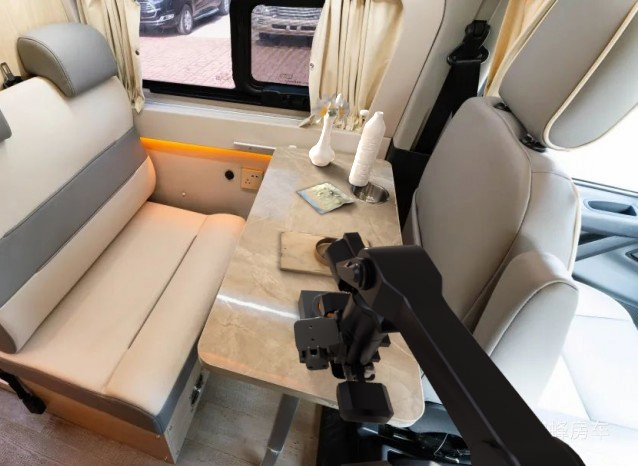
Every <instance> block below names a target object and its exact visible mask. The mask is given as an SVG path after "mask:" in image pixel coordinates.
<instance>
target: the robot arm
mask: <svg viewBox="0 0 638 466" xmlns="http://www.w3.org/2000/svg"><path fill="white" fill-rule="evenodd" d="M342 237H343V238H341V239H339V240H336V241H335V242H333V243H332V244H331V245H330V246H329V247H328V248H326V249H325V253H324V256H325V259H326V261H327V263H328V266H329V268H330V270H331V273H332V275H333V276H332V278H333V279H334V282H335V285H336V287H337V289H338V291H333V292H327V293H325V294H323V295H322V296H321V299H320V302H319V303H320V309H321V314H322V316H323V317H316V318H309V319H302V320H300V319H298V320H296V321H295V322H294V324H293V333H294V344H295V347H296V349H297V350H296V351H297V352H298V360H299V361H298V362H299V363H300V364H305V368H306V369H307V370H308V371H311V372H312V371H313V372H314V371H323V370H328V369H329V368H330V371H331V375H332V376H333V378H335V379H337V380H345V381H342V382H337V385H336V386H335V387H336V388H335V397H336V401H337V402H336V403H337V407H338V414H339V417H340V418H341V419H342V420H343V421H345V422H356V423H369V424H383V425H384V424H385V425H386V424H388V423H389V422H390V421H391V419H392V418H393V417H394V415H395V412H394V411H395V410H394V408H393V405H392V402H391V398H390V395H389V391H388V387H387V386H386V385H385V384H384V383H382V382H375V381H374V380H375V379H376V373H377V371H376V367H375V363H376V364H377V363H380V361H381V360H382V358H381V355H380V351H379V349H380V348H390V346H391V344H392V341H391V339H390V335H389V334H397V333H399V334H400V336H401V338H402V339H403V341H404V342H405V344H406V346H407V347H408V349H409V351H410V353H411V354H412V356H413V358H414V359H415V361H416V363H417V364H418V366H419V368H420V370H421V371H422V373H423V374H424V376H425V378H426V379H427V381H428V383H429V384H430V386H431V388H432V390H433V391H434V393H435V394H436V396H437V398H438V399H439V401H440V403H441V405H442V407H443V408H444V410H445V411H446V414H447V415H448V416H449V418H450V419H451V421H452V423H453V425H454V426H455V428H456V430H457V431H458V433H459V435H460V436H461V438H462V440H463V441H464V443H465V444H466V446H467V448H468V450H469V460H470V466H587V465H586V463H585V462H584V460H583V459H582V457H581V456H580V454H578V453H577V451H576V450H574V448H573V447H571V446H570V444H568V443H567V442H566V441H564V440H562V439H560V438H559V437H557V436H553V435H552V433H551V432H550V431H549V430H548V428H547V427H546V426H545V425H544V423H543V421H542V420H541V419H540V418H539V417H538V416H537V414H536V413H535V412H534V411H533V410H532V408H531V406H529V404H528V403H527V402H526V401H525V399H524V398H523V396H521V394H520V393H519V392H518V390H517V389H516V388H515V387H514V386H513V384H512V383H511V382H510V380H509V379H508V378H507V377H506V376H505V374H504V372H502V370H501V369H500V368H499V367H498V366H497V364H496V363H495V361H494V360H493V359H492V358H491V356H490V355H489V354H488V353H487V352H486V350H485V349H484V348H483V347H482V346H481V344H480V343H479V342H478V340H477V339H476V338H475V337H474V335H473V334H472V333H471V332H470V330H469V329H468V327H466V325H465V324H464V323H463V322H462V320H461V319H460V317H459V316H458V315H457V314H456V313H455V312H454V310H453V309H452V308H451V306H450V305H449V303H448V302H447V300H446V298H445V297H444V277H443V275H442V273H441V272H440V270H439V268H438V267H437V266H436V264H435V262H434V261H433V259H432V257H431V256H430V255H429V253H428V252H427V251H426V250H425V249H424V248H423V247H422V246H421V245H419V244H398V245H397V244H396V245H395V244H394V245H381V246H370V247H365V245H364V243H363V241H362V239H363V238H362V237H361V234H360V233H359V232H358V231H351V232H344V233H343V235H342ZM339 292H346V293H339ZM328 314H334V315H333V316H332V317H331V318H324V317H327V316H328ZM373 381H374V382H373ZM340 466H393V465H392V463H391V464H390V462H389V461H388V460H386V459H384V460H377V461H376V460H375V461H364V462H354V463H346V464H345V463H343V464H340Z"/></svg>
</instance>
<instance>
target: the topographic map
mask: <svg viewBox="0 0 638 466" xmlns="http://www.w3.org/2000/svg"><path fill="white" fill-rule="evenodd" d="M297 193H298V194H299V195H300V196H301V197H302V198H303V199H304V200H305V201H306V202H307V203H309V204H310V206H311V207H313V208H314V209H315V210H316V211H317V212H318V213H319V214H320V215H322V214H327V213H329V212H331V211H332V210H335V209H337V208H340V207H341V206H342V205H343V204H348V203H355V200H354V199H353V198H351V197H350V196H349V195H347V194H346V193H344V192H343V191H342V190H340V189H339V188H337V187H335V186H334V185H332V184H331V183H330V182H326V183H322V184H317V185H314V186H312V187H308V188H306V189H302V190H298V191H297Z"/></svg>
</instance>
